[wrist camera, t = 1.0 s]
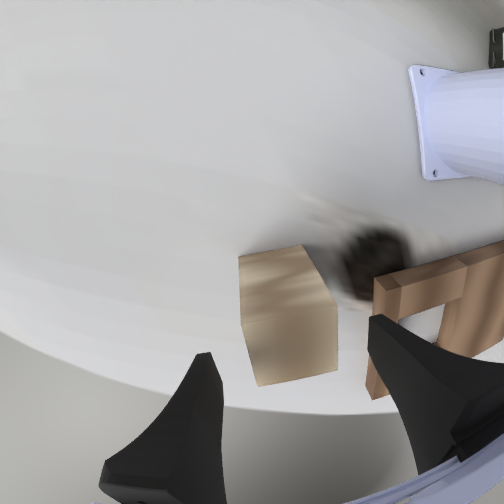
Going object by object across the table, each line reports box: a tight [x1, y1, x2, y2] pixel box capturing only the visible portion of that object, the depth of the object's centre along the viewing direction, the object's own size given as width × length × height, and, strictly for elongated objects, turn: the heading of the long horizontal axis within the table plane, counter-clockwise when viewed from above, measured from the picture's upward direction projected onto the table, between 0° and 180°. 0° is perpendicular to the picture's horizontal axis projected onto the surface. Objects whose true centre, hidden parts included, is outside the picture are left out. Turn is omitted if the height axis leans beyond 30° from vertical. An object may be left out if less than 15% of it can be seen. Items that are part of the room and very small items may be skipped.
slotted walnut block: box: [365, 240, 504, 400], centre depth 20 cm, size 18×12×2 cm, turn 100°
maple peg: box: [238, 245, 338, 387], centre depth 15 cm, size 4×4×7 cm
